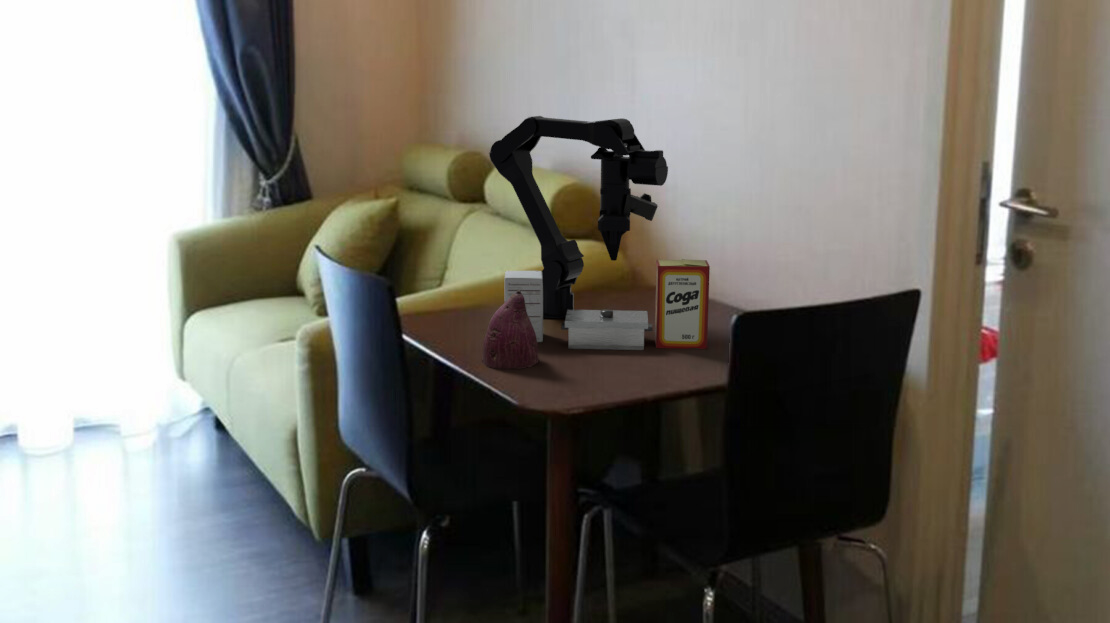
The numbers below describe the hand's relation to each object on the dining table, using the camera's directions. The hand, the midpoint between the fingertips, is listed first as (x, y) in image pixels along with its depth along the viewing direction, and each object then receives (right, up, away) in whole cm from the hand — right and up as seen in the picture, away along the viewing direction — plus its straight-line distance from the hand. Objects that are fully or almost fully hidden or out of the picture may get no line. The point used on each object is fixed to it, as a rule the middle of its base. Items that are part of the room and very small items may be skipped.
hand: (613, 260), depth 242 cm
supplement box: (-18, -16, -10) cm, 26 cm away
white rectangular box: (-2, -16, -14) cm, 21 cm away
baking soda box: (+12, -17, -14) cm, 25 cm away
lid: (-2, -12, -14) cm, 19 cm away
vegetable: (-20, -20, -27) cm, 39 cm away
